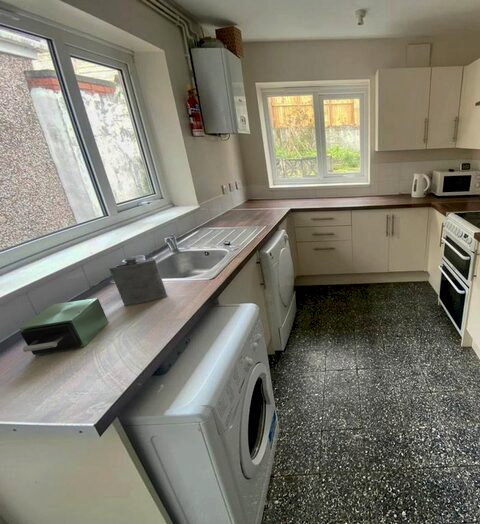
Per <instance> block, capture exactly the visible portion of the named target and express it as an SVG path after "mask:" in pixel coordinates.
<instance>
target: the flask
mask: <svg viewBox="0 0 480 524" xmlns="http://www.w3.org/2000/svg"><path fill="white" fill-rule="evenodd" d="M125 261H126V262H127V263H123V262H122V263H119V264H113V265H111V266H109V267H108V269H109V271H110V274H111V276H112V279H113V282H114V284H115V286H116V289H117V292H118V293H119V296H120V298H121V301H122V303H123V306H124V307H130V306H135V305H140V304H145V303H150V302H154V301H157V300H161V299H165V298H166V297H168V293H167V290H166V287H165V285H164V284H165V283H164V282H163V278H162V276H161V272H160V270H159V266H158V264H157V260H156V259H155V258H149V259H145V260H144V261H139V262H136V257H133V256H130V257H127V258H125Z"/></svg>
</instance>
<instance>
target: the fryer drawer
mask: <svg viewBox="0 0 480 524" xmlns="http://www.w3.org/2000/svg"><path fill="white" fill-rule="evenodd" d="M19 333H20V335H21V337H22V339H23V340H24V342H25V343H26V345H25V346H23V348H22V351H23V352H24V353H27V352H31V353H32V355H33V356H37V355H36V354H40V355H43V354H42V353H46V354H49V353H48V352H52V353H55V352H54V351H58V352H61V351H60V350H63V351H67V350H66V349H69V350H73V349H72V348H75V349H79V348H78V347H80V346H81V343H80V341H79V339H78V338H77V336H76V334H75V332H74V330H73V328H72V326H71V324H70V323H68V324H61V325H55V326H53V325H51V326H45V327H38V328H32V329H29V330H23V331H20V332H19Z"/></svg>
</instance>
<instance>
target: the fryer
mask: <svg viewBox="0 0 480 524" xmlns="http://www.w3.org/2000/svg"><path fill="white" fill-rule="evenodd" d="M65 323H70V324H71V326H72V328H73V330H74V332H75V334H76V336H77V338H78V339H79V341H80V343H81V346H80V347H78V348H77V349H80V348H85V347H86V346H88V344H89V343H90V342H91V341H92V340H93V339H95V337H96V336H97V335H98V334H99V333H100V332H101V331H102V330H104V328H105V327H106V326H107V325H108V324H109V320H108V317H107V315H106V313H105V310H104V308H103V306H102V304H101V301H100V299H99V297H94V298H88V299H81V300H73V301H65V302H59V303H53V304H52V305H50V306H49V307H47V308H46V309H44V310H43V311H42V312H40V313H38V314H37V315H36V316H34V317H33V318H32V319H31V320H29V321H27V322H25V323H24V324H23V325H22V326H20V327H19V330H20V332H22V331H23V330H29V329H32V328H38V327H45V326H51V325H58V324H65ZM75 349H76V348H72V349H71V350H75ZM69 350H70V349H66V350H65V351H69ZM62 351H63V352H64V350H60V351H54V352H48V353H42V354H36V355H35V356H40V355H45V354H50V353H57V352H62Z"/></svg>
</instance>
